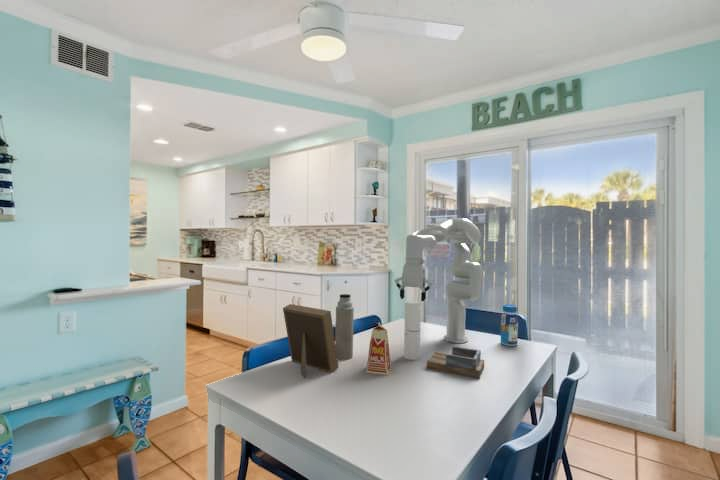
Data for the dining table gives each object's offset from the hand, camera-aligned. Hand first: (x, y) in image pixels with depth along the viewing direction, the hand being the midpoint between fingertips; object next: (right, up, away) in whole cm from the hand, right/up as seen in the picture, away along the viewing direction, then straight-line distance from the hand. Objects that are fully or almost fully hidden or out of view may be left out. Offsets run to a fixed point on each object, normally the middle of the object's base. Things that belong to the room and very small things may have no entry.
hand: (412, 299), depth 163 cm
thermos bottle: (-31, -26, -1) cm, 40 cm away
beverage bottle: (+54, -27, +24) cm, 65 cm away
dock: (+16, -27, -12) cm, 34 cm away
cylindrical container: (0, -26, +1) cm, 26 cm away
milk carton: (-16, -26, -16) cm, 35 cm away
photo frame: (-46, -26, -17) cm, 55 cm away
